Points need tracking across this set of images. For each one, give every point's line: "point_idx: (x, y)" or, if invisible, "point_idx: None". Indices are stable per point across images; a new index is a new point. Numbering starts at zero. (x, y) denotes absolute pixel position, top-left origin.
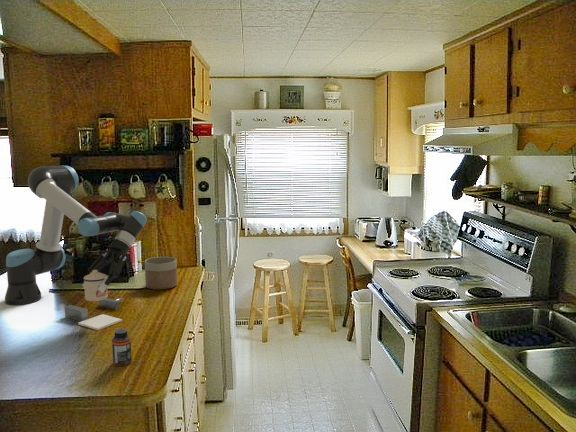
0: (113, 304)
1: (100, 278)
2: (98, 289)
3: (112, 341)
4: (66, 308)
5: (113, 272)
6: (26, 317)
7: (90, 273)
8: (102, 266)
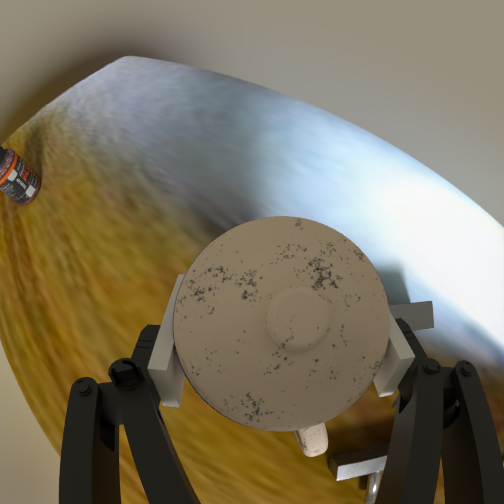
0: (348, 460)
1: (176, 299)
2: (181, 275)
3: (12, 149)
4: (421, 302)
5: (92, 405)
6: (469, 240)
7: (323, 278)
8: (388, 478)
